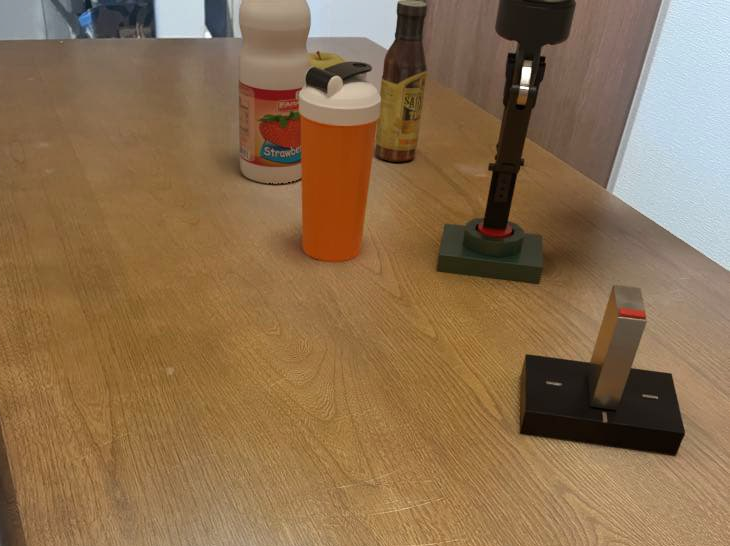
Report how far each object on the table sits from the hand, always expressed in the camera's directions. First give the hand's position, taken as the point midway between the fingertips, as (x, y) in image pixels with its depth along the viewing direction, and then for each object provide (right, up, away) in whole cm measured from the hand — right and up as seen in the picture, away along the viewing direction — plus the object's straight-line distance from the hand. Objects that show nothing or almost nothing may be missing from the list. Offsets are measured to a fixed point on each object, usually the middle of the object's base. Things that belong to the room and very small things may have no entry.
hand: (494, 225), depth 102 cm
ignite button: (0, -1, +1) cm, 2 cm away
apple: (-21, +36, +44) cm, 60 cm away
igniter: (0, -3, +3) cm, 5 cm away
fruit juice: (-27, +15, +20) cm, 37 cm away
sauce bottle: (-9, +20, +28) cm, 36 cm away
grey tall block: (+6, -23, -21) cm, 32 cm away
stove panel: (+6, -25, -20) cm, 32 cm away
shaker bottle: (-19, -2, +3) cm, 20 cm away
